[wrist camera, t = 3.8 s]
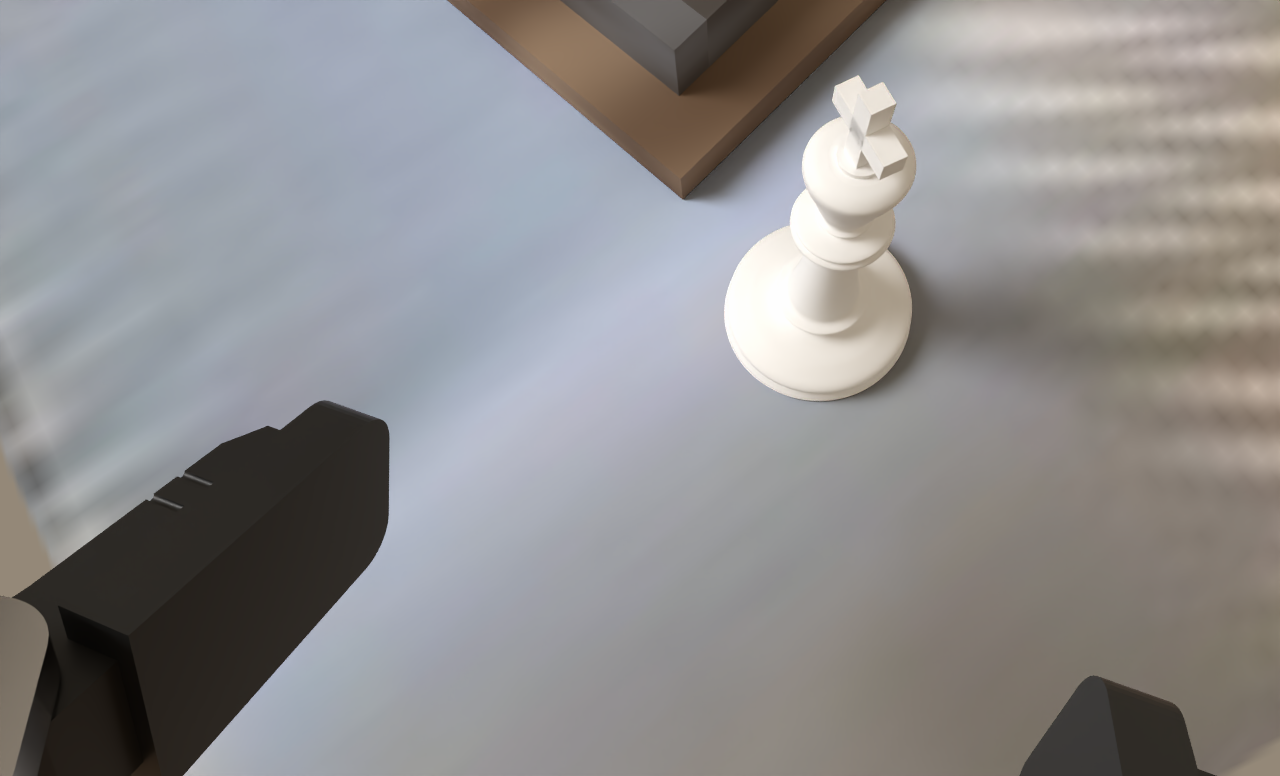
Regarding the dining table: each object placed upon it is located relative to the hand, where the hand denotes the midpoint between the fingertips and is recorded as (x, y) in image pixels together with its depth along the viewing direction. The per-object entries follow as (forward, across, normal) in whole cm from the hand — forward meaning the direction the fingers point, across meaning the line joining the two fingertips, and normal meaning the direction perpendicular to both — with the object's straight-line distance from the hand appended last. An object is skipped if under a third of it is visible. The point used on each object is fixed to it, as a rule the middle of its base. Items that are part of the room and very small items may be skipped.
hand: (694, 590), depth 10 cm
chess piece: (+14, 0, +3) cm, 15 cm away
